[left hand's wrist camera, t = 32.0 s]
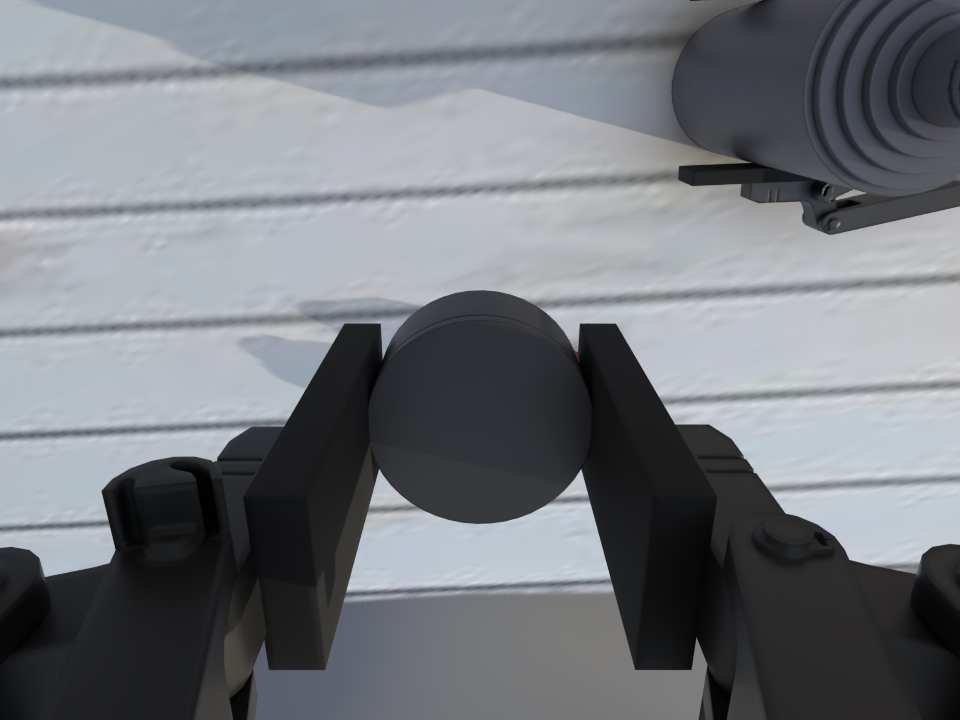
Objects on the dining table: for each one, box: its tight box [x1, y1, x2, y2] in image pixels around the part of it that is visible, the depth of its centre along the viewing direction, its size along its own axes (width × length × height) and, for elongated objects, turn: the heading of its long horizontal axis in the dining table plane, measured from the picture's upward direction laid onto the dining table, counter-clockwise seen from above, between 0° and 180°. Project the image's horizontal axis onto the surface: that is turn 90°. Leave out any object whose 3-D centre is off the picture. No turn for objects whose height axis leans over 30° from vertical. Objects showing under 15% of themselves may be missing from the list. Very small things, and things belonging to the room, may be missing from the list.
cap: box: [368, 290, 592, 524], centre depth 14 cm, size 4×4×2 cm
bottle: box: [672, 0, 960, 196], centre depth 30 cm, size 8×8×23 cm
